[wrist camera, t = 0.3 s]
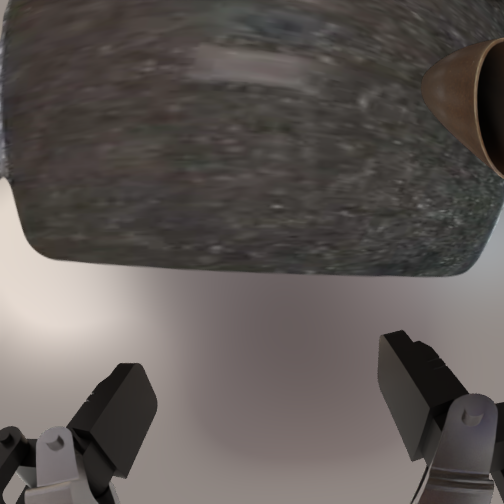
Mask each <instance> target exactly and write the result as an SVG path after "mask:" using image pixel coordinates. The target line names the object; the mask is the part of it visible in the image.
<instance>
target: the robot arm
mask: <svg viewBox="0 0 504 504" xmlns="http://www.w3.org/2000/svg"><path fill="white" fill-rule="evenodd" d="M378 383H379V387H380V390H381V392H382V394H383V397H384V399H385V401H386V403H387V405H388V408H389V410H390V412H391V414H392V417H393V419H394V421H395V423H396V426H397V428H398V430H399V432H400V435H401V437H402V439H403V442H404V444H405V447H406V449H407V451H408V454H409V456H410V459H411V461H416V460H418V459H421V458H424V459H425V461H426V464H427V465H426V468H425V470H424V472H423V475H422V477H421V479H420V482H419V484H418V486H417V489H416V491H415V493H414V495H413V497H412V499H411V501H410V504H490V503H491V499H492V495H493V490H494V481H495V484H496V486H497V488H498V490H499V492H500V495H501V498H502V500H503V503H504V402H502V403H497V404H495V403H494V402H493V401H492V400H491V399H490V398H489V397H487V396H485V395H481V394H469V393H468V391H467V390H466V389H465V388H464V386H463V385H462V384H461V383H460V381H459V380H458V379H457V377H455V375H454V374H453V373H452V371H451V370H450V369H449V368H448V367H447V366H446V365H445V363H444V362H443V360H442V359H440V358H439V356H438V354H437V353H436V352H435V351H434V350H433V348H432V347H430V346H428V345H426V344H424V343H422V342H421V341H417V342H413V341H412V340H411V339H410V338H409V336H408V335H407V334H406V333H405V332H404V331H403V330H400V331H396V332H392V333H388V334H384V335H381V336H380V339H379V357H378ZM156 411H157V398H156V395H155V393H154V391H153V389H152V386H151V384H150V382H149V380H148V377H147V375H146V373H145V370H144V368H143V366H142V365H141V364H139V363H120V364H118V365H117V367H116V368H115V369H114V370H113V372H112V373H111V375H110V376H108V377H107V378H106V379H104V380H103V381H102V382H100V383H99V384H98V385H97V387H96V388H95V389H94V391H93V392H92V395H90V396H89V397H88V398H87V400H86V402H84V404H83V405H82V406H81V408H80V409H79V410H78V412H77V413H76V414H75V416H74V417H73V418H72V420H71V421H70V423H69V424H68V425H67V427H61V426H58V427H52V428H50V429H48V430H46V431H45V432H43V433H42V434H41V435H40V437H39V438H38V439H26V438H25V437H24V435H23V434H22V433H21V431H20V430H19V429H18V428H17V427H13V426H11V427H6V428H3V429H2V430H0V504H6V503H5V502H4V500H3V496H2V494H3V491H4V489H5V487H6V486H7V484H8V483H9V481H10V480H11V478H12V476H13V475H14V473H16V474H17V475H18V476H19V477H20V478H21V479H22V480H23V481H24V482H25V483H26V484H27V485H26V486H25V488H24V490H23V491H22V493H21V495H20V497H19V498H18V500H17V502H16V504H120V501H119V498H118V496H117V493H116V490H115V487H114V485H113V484H112V482H111V481H110V480H111V478H112V476H116V477H121V478H125V479H126V478H127V476H128V474H129V471H130V469H131V467H132V465H133V462H134V460H135V458H136V456H137V454H138V451H139V449H140V447H141V445H142V442H143V440H144V438H145V436H146V434H147V431H148V429H149V427H150V425H151V422H152V421H153V418H154V416H155V414H156ZM489 473H491V475H492V477H493V479H494V481H493V480H489Z"/></svg>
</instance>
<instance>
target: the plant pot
mask: <svg viewBox="0 0 504 504" xmlns="http://www.w3.org/2000/svg"><path fill="white" fill-rule="evenodd" d="M421 92H422V96H423V100H424V102H425V104H426V105H427V107H428V108H429V109H430V111H431V112H432V113H433V114H434V116H435V117H436V118H437V119H438V120H439V121H440V122H441V123H442V124H443V125H444V126H445V127H446V129H447V130H448V131H449V132H450V133H452V134H453V135H454V136H455V137H456V138H457V139H458V140H459V141H460V142H461V143H462V144H463V145H464V146H465V147H467V148H468V149H469V150H470V151H471V152H472V153H473V154H475V155H476V156H477V157H478V158H479V159H480V160H482V161H483V162H484V163H485V164H486V165H488V166H489V167H490V168H491V169H492V170H493V171H495V172H496V173H497V174H498V175H499V176H500V177H502V178H503V179H504V38H499V39H493V40H488V41H484V42H480V43H476V44H473V45H470V46H467V47H465V48H462V49H460V50H457V51H455V52H453V53H451V54H449V55H448V56H446V57H444V58H443V59H441V60H440V61H438V62H437V63H436V64H434V65H433V66H432V67H431V68H430V69H429V70H428V71H427V72H426V73H425V74H424V76H423V79H422V83H421Z"/></svg>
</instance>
